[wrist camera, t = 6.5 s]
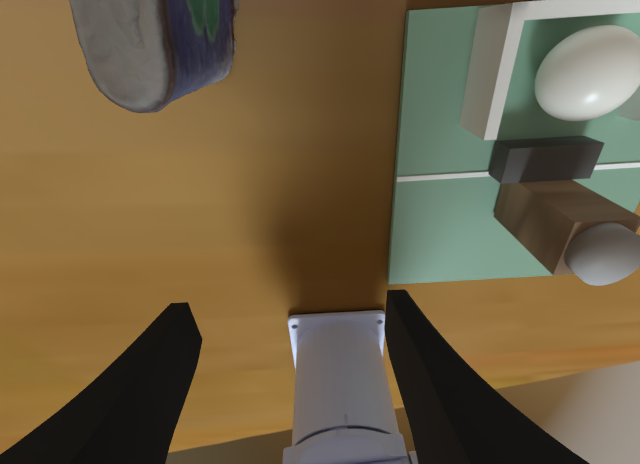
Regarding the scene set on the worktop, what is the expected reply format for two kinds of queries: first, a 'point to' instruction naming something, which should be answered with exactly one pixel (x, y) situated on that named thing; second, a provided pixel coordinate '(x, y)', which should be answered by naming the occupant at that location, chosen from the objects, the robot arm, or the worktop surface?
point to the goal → (500, 52)
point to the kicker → (563, 209)
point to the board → (482, 149)
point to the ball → (589, 73)
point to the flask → (155, 47)
